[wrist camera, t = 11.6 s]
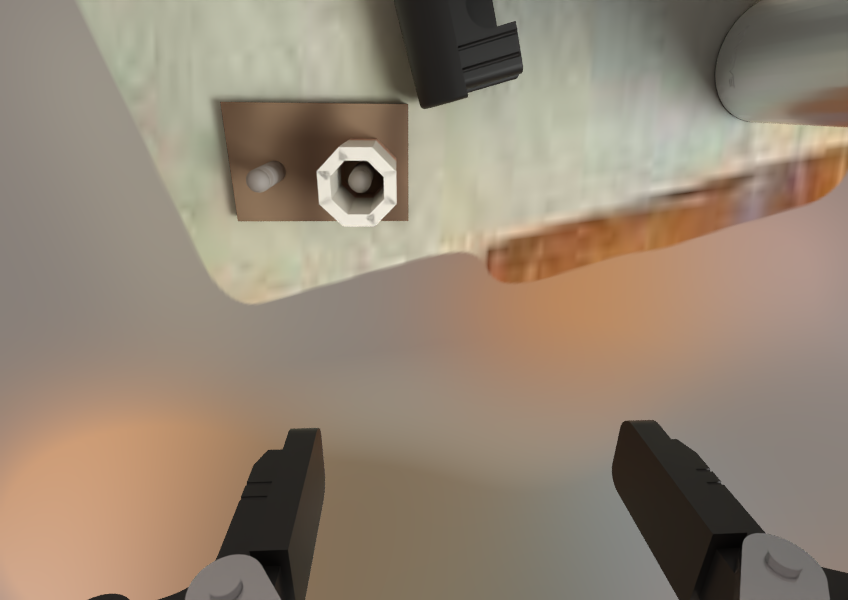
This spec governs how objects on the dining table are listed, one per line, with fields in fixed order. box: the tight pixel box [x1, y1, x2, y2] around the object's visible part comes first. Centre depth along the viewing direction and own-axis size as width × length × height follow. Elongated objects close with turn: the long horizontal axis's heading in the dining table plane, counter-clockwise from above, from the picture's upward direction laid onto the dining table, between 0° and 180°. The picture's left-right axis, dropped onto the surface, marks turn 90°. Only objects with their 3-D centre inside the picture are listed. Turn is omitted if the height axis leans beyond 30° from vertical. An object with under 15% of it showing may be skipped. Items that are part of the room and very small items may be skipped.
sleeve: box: [316, 138, 397, 227], centre depth 33 cm, size 5×5×8 cm
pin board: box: [220, 102, 408, 221], centre depth 35 cm, size 14×9×7 cm, turn 89°
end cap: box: [394, 0, 523, 109], centre depth 32 cm, size 10×7×7 cm
